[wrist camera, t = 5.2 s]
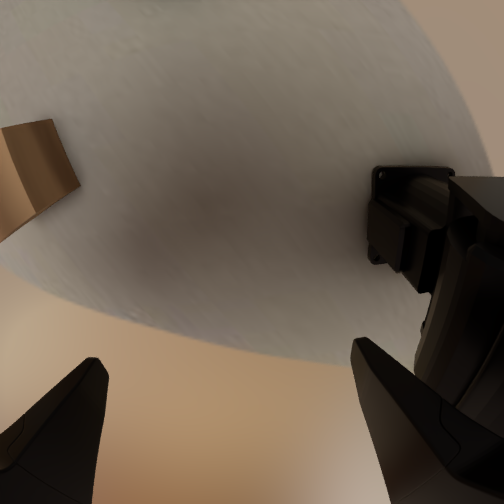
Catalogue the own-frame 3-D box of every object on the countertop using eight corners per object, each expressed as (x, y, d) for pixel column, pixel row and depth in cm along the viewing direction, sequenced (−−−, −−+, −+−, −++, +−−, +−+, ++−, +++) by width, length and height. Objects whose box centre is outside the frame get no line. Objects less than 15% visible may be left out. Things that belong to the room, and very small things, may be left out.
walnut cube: (52, 118, 13) (0, 128, 9) (81, 185, 15) (35, 213, 11) (9, 158, 14) (-38, 177, 9) (35, 216, 16) (-7, 248, 11)
